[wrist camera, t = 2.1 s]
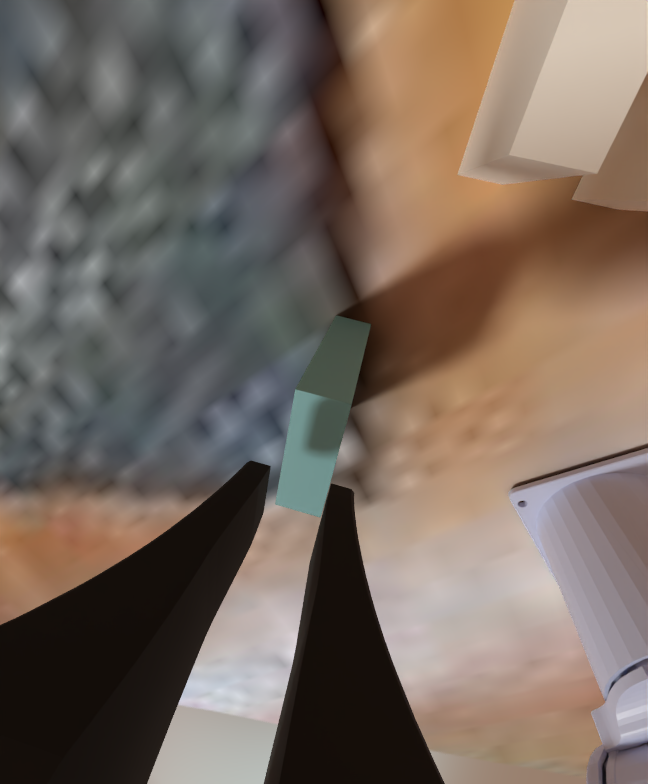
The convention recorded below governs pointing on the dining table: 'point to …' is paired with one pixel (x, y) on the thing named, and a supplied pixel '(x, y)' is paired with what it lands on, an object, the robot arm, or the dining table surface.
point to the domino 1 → (321, 416)
